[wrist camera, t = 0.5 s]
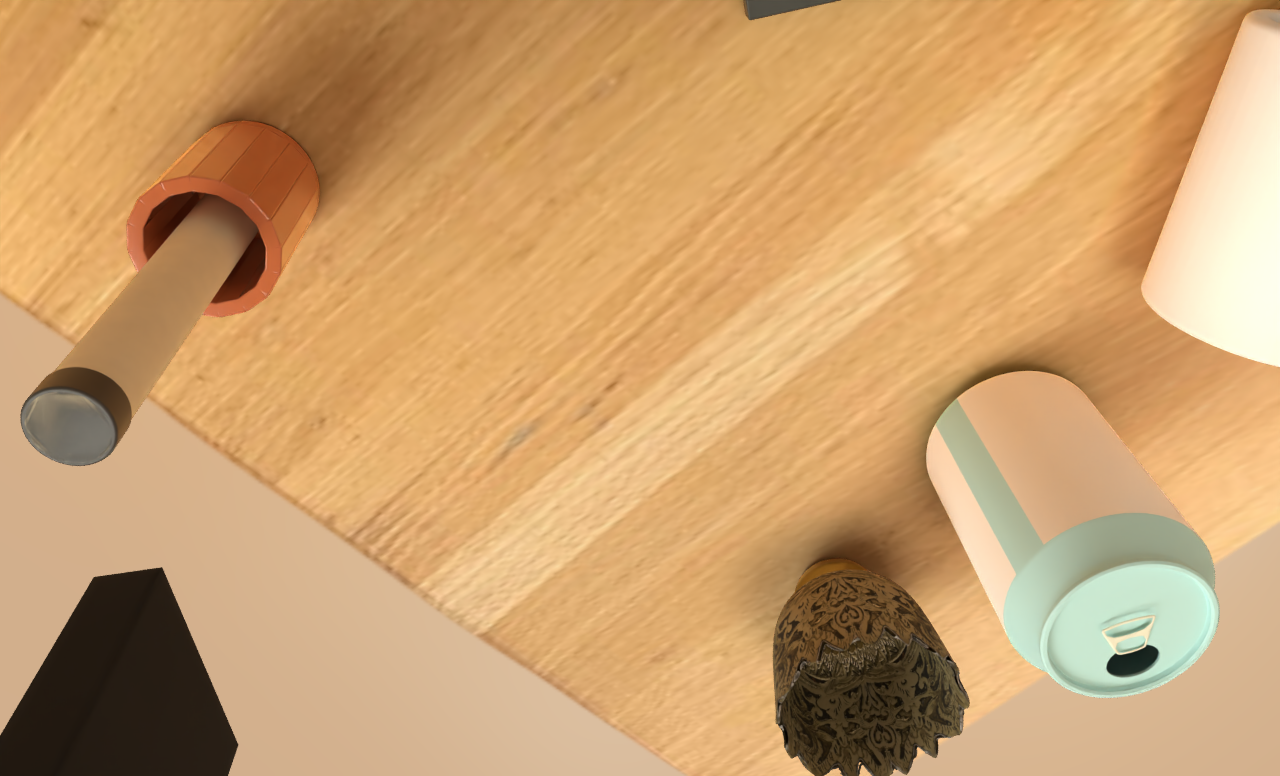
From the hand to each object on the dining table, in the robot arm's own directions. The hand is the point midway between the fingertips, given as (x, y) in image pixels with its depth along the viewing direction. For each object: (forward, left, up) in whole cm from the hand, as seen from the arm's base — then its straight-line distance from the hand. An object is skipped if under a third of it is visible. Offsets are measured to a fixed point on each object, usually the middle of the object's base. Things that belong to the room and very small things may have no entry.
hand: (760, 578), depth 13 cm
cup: (+25, +4, -29) cm, 38 cm away
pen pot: (+2, -14, -29) cm, 32 cm away
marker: (+2, -14, -28) cm, 32 cm away
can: (+19, +12, -29) cm, 36 cm away
